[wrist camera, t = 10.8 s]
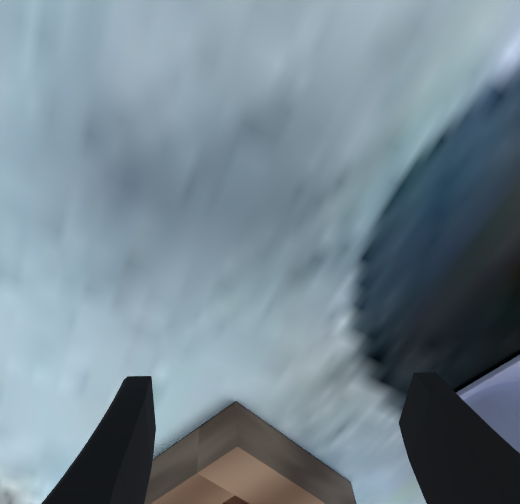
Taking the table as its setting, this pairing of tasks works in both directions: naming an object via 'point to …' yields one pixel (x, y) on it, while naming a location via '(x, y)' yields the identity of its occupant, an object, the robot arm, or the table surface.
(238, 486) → the socket block
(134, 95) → the table surface
